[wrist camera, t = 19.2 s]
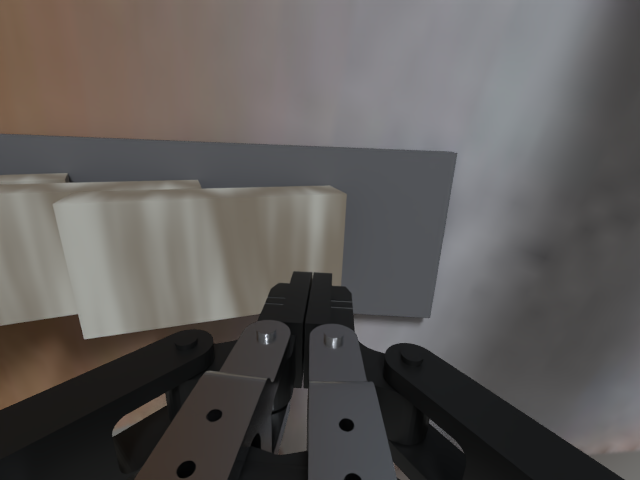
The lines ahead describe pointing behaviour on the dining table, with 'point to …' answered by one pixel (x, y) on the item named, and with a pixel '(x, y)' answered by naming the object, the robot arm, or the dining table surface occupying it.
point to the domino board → (281, 171)
